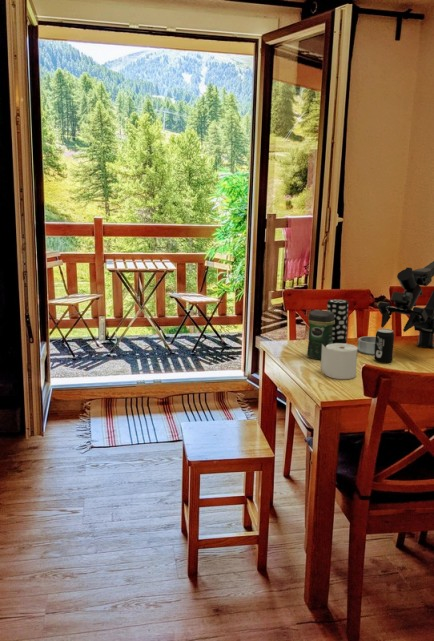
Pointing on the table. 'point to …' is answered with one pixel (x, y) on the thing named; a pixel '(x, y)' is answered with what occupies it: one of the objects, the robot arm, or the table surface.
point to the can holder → (366, 345)
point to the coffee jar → (319, 332)
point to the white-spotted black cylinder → (339, 319)
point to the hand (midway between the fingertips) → (392, 329)
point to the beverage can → (384, 345)
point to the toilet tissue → (339, 360)
